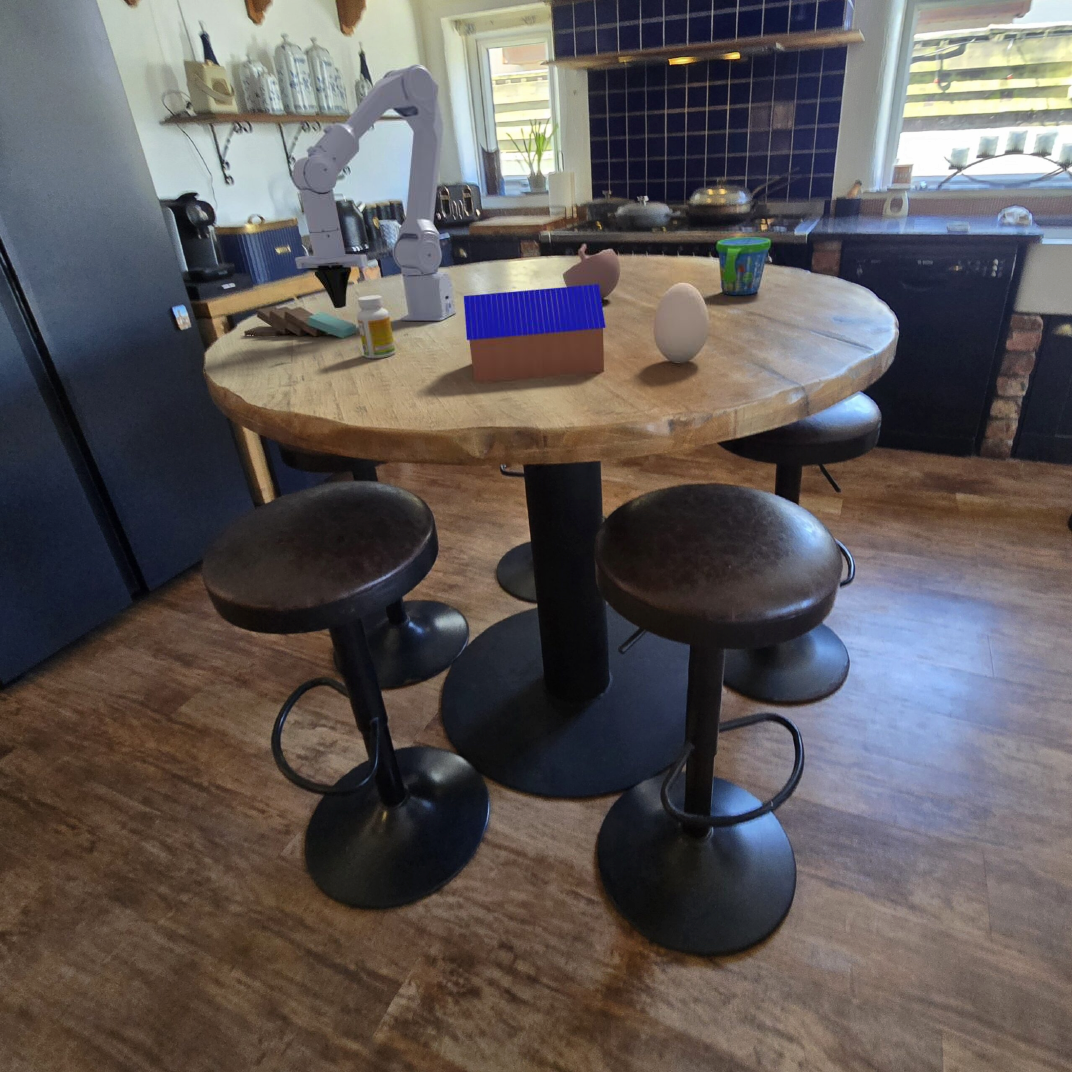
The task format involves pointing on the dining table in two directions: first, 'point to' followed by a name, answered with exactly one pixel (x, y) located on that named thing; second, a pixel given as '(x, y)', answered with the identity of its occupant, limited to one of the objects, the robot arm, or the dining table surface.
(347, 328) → the teal tile
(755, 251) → the snack cup
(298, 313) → the tile
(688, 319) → the egg
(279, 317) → the tile
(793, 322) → the dining table surface
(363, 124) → the robot arm
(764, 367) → the dining table surface
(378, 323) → the supplement bottle
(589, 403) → the dining table surface
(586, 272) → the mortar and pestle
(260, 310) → the tile
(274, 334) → the tile
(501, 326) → the house
